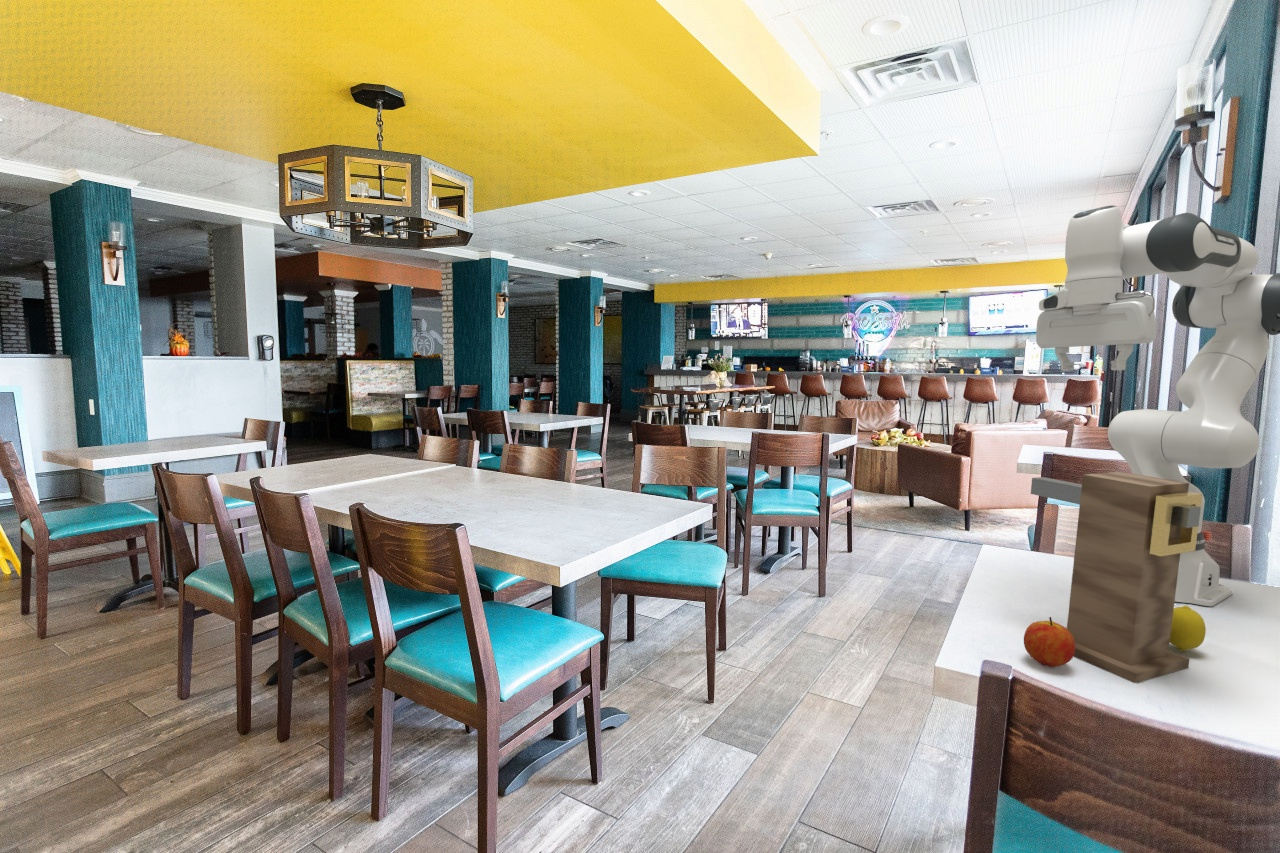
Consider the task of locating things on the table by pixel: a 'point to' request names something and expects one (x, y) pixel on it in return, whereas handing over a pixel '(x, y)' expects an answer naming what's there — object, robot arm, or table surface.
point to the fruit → (1049, 643)
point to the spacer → (1163, 521)
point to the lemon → (1187, 629)
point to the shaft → (1072, 493)
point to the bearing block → (1123, 578)
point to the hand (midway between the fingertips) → (1091, 370)
